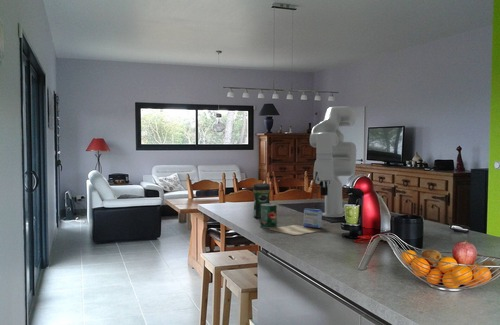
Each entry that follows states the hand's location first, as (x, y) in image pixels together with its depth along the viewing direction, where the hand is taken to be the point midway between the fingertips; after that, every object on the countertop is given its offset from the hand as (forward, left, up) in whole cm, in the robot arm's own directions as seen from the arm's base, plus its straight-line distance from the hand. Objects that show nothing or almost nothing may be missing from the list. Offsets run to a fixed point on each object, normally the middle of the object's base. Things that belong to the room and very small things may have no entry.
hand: (324, 195), depth 222 cm
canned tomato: (+23, -15, -15) cm, 31 cm away
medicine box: (+8, 0, -15) cm, 17 cm away
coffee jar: (+9, -40, -15) cm, 44 cm away
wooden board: (+19, 0, -15) cm, 24 cm away
